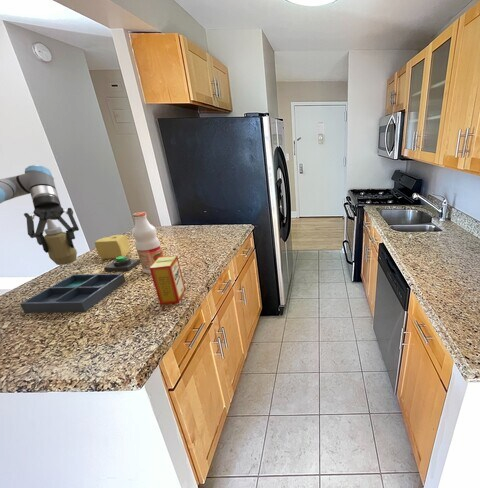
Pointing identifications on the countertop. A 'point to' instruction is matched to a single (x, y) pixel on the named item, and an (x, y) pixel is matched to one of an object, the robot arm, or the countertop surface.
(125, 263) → the panel
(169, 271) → the baking soda box
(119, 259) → the button
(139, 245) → the fruit juice
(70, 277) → the compartment tray
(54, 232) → the squeeze bottle
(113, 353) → the countertop surface
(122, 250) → the cheese
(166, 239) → the countertop surface
